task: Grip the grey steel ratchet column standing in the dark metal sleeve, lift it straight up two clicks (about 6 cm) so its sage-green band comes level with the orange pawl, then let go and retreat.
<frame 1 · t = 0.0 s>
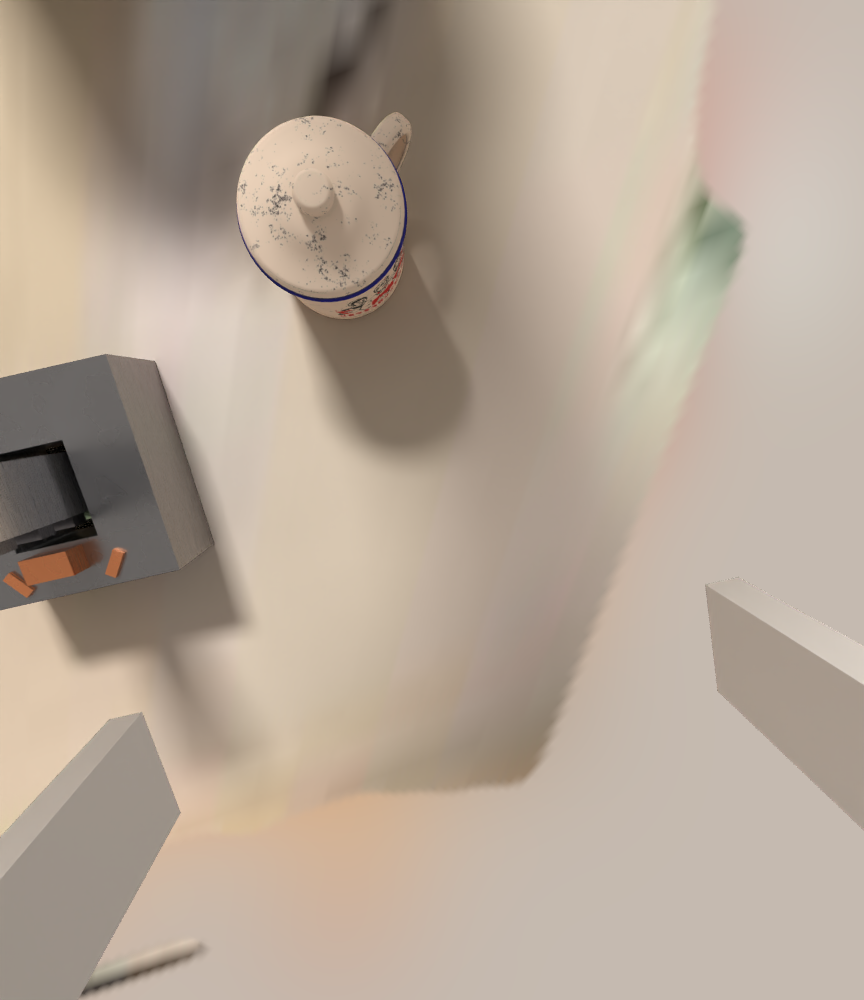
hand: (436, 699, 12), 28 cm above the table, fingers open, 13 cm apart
sleeve base: (94, 476, 38), on the table
teacup with lid: (355, 238, 35), on the table
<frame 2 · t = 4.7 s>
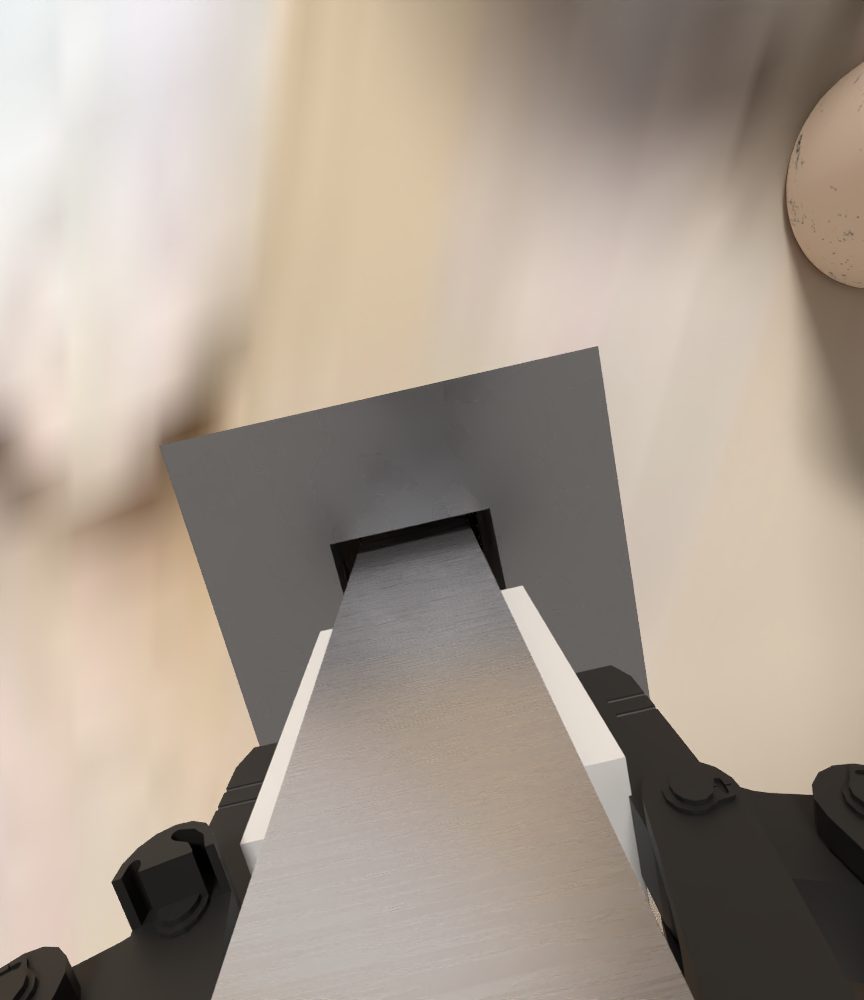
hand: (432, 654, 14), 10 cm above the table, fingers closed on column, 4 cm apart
sleeve base: (422, 549, 23), on the table
column: (435, 673, 13), point 10 cm above the table, slide at 0.0 cm, touching gripper
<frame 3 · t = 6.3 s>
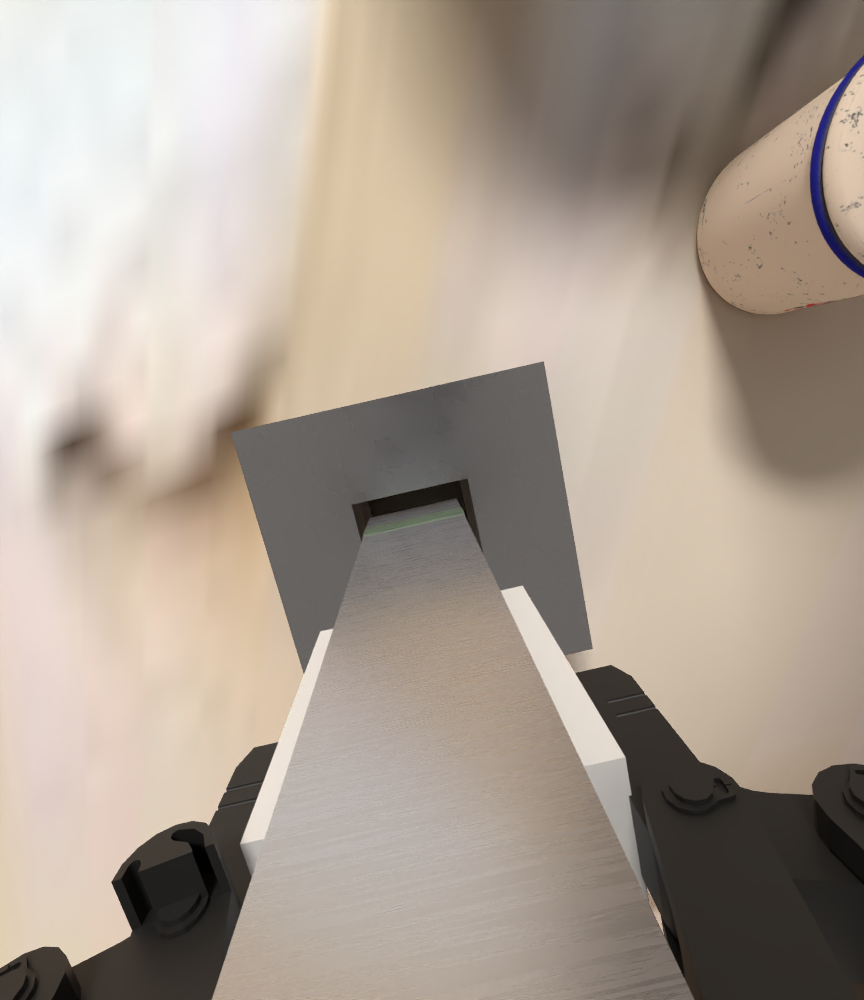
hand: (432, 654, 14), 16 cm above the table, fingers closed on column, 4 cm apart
sleeve base: (419, 517, 29), on the table
column: (436, 673, 13), point 16 cm above the table, slide at 6.4 cm, touching gripper
teacup with lid: (788, 209, 27), on the table
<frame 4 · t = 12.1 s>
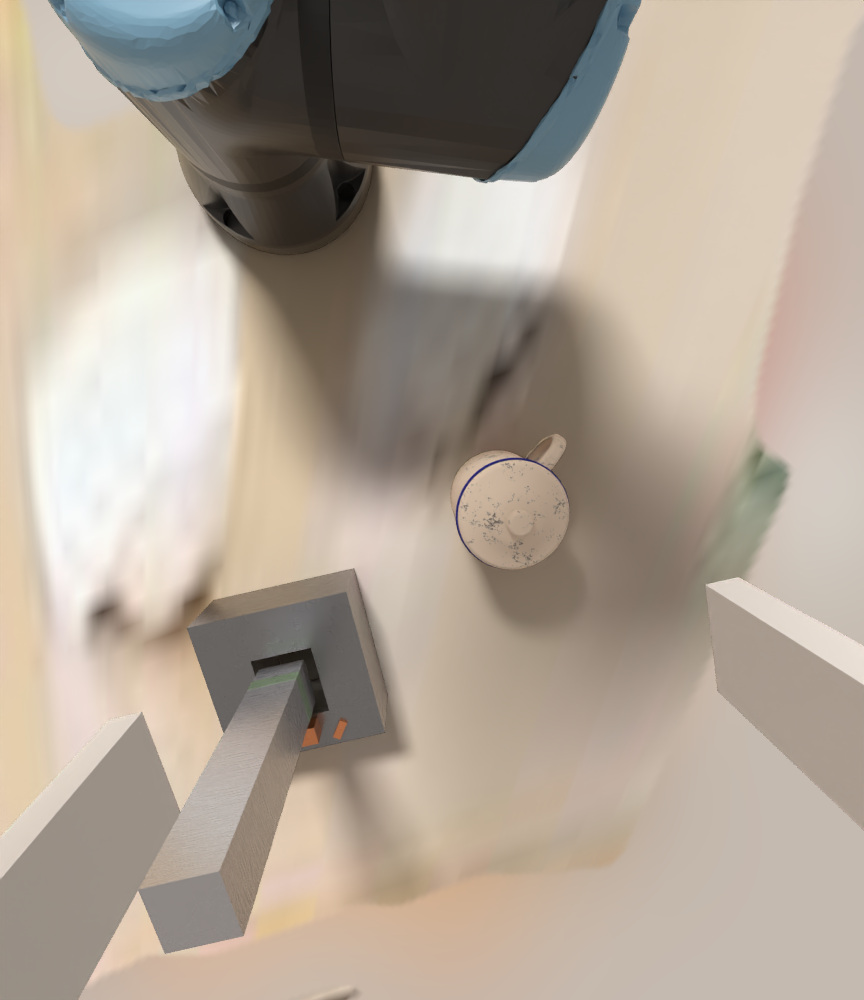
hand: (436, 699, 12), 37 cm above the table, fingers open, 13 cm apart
sleeve base: (302, 648, 51), on the table
column: (254, 770, 35), point 16 cm above the table, slide at 6.5 cm
teacup with lid: (504, 482, 48), on the table
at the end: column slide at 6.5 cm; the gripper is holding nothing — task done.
